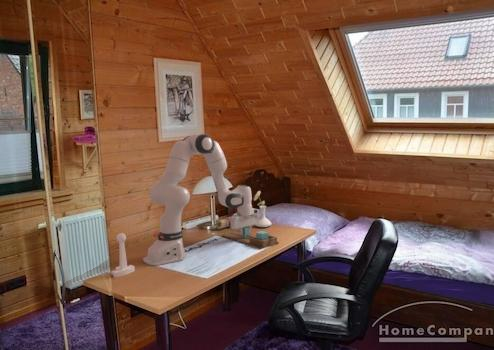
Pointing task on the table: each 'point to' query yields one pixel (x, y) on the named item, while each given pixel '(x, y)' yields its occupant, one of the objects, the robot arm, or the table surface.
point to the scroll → (224, 223)
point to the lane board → (252, 240)
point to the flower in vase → (262, 213)
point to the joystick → (122, 259)
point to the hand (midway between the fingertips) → (245, 233)
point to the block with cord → (259, 235)
